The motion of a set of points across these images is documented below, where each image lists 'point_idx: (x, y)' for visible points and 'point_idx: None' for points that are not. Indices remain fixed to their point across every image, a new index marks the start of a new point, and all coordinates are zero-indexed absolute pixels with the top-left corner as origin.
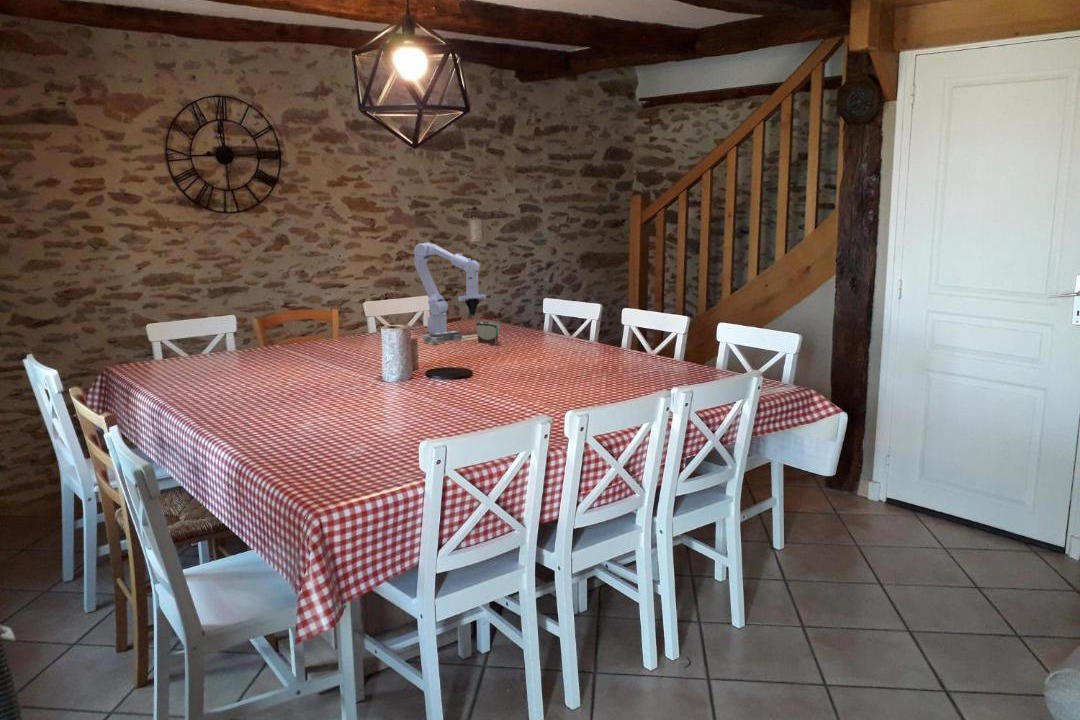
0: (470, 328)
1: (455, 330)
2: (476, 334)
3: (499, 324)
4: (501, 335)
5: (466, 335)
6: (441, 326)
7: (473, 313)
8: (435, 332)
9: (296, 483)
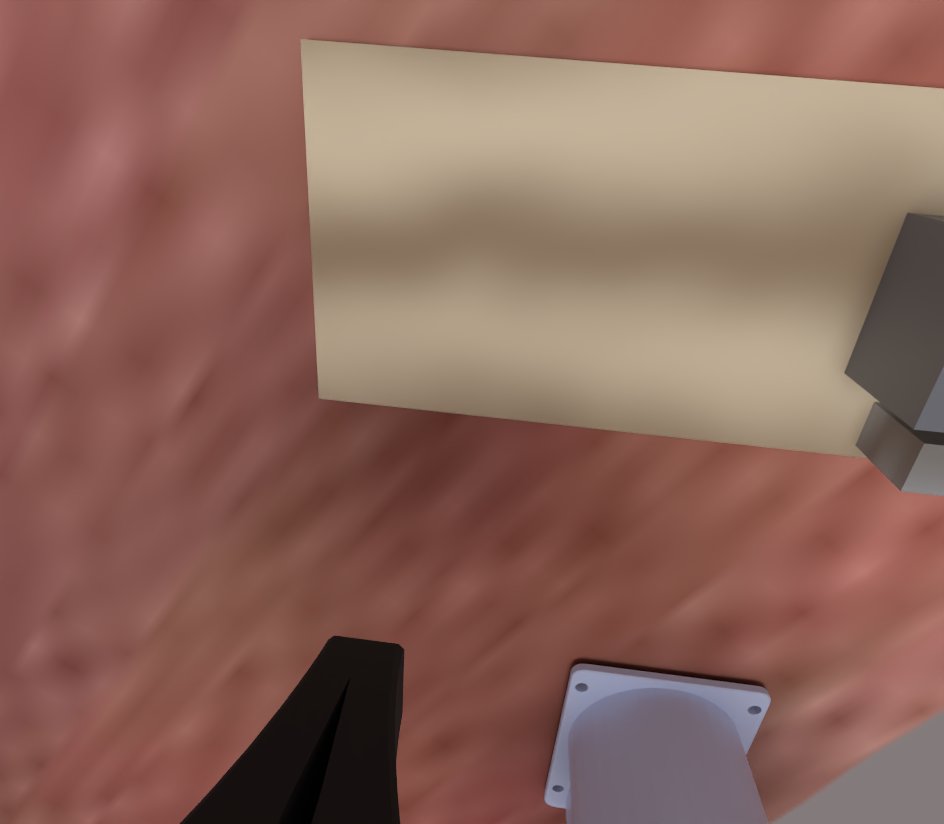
0: (219, 707)
1: (929, 425)
2: (415, 377)
3: None
4: (72, 133)
5: (582, 410)
6: (713, 773)
7: (366, 669)
8: (739, 736)
9: None
